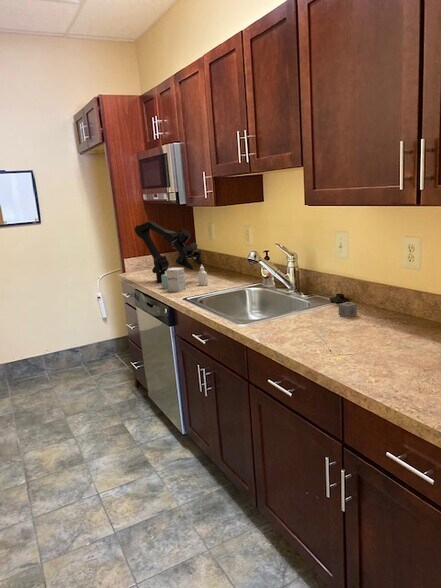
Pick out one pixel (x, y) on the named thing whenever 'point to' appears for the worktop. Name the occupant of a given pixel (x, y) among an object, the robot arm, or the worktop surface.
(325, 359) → the worktop surface
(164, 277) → the teal block
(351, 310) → the dice cube
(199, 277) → the eye dropper bottle
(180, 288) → the supplement box
